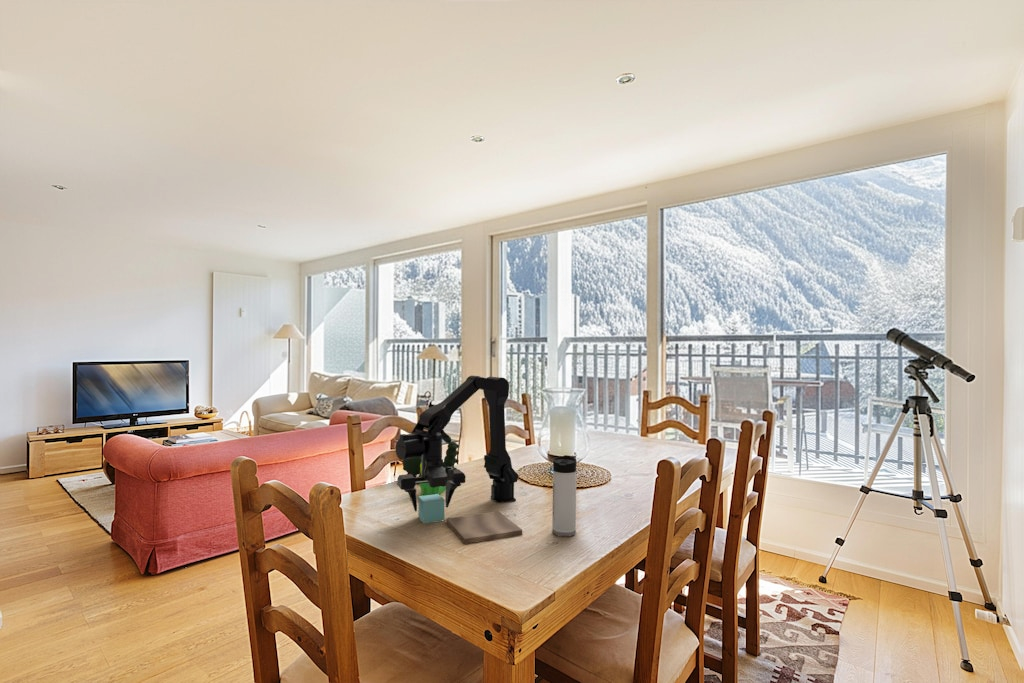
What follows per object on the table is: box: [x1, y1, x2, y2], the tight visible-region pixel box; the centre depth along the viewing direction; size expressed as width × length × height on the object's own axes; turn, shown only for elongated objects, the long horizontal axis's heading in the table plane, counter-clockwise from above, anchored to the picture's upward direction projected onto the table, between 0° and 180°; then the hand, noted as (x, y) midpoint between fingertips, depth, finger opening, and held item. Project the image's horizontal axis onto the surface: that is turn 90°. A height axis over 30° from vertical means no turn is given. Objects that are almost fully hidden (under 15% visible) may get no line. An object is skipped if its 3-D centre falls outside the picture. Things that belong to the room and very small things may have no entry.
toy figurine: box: [402, 435, 460, 477], centre depth 183 cm, size 9×19×25 cm
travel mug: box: [551, 454, 577, 537], centre depth 134 cm, size 6×7×20 cm
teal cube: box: [417, 494, 445, 524], centre depth 143 cm, size 6×6×6 cm
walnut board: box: [445, 510, 523, 545], centre depth 136 cm, size 16×16×1 cm
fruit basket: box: [419, 461, 446, 496], centre depth 168 cm, size 11×9×11 cm
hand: (431, 509), depth 143 cm, fingers open, 9 cm apart
